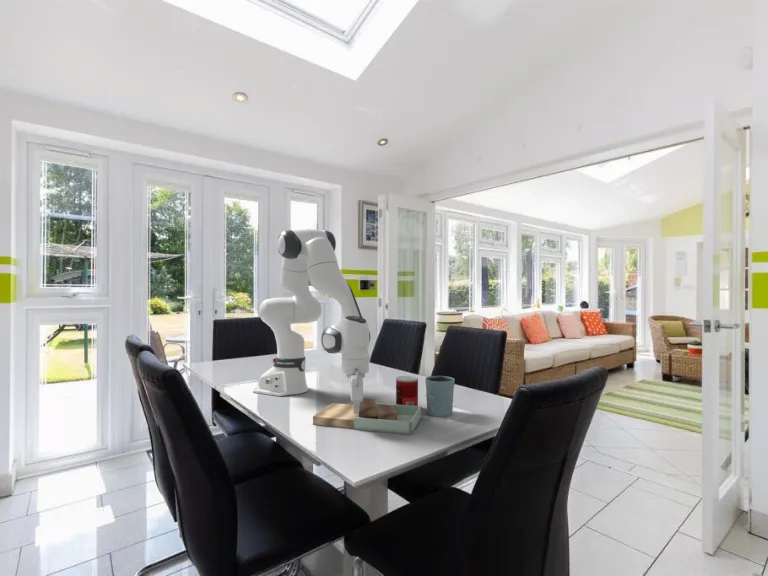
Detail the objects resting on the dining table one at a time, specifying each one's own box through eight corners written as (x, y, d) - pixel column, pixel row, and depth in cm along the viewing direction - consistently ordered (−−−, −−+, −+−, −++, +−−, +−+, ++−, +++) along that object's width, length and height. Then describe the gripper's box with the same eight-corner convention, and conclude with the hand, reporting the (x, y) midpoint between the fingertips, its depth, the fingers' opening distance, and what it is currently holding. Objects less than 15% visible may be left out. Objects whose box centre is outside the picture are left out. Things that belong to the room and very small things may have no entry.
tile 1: (358, 416, 132) (359, 407, 132) (356, 407, 142) (357, 398, 142) (377, 416, 133) (377, 407, 133) (374, 407, 143) (374, 398, 143)
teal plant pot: (426, 417, 140) (426, 381, 140) (423, 408, 150) (423, 375, 150) (456, 417, 140) (456, 381, 140) (452, 408, 150) (452, 375, 150)
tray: (354, 429, 128) (354, 417, 128) (370, 412, 145) (370, 402, 145) (411, 434, 124) (411, 422, 124) (421, 416, 141) (421, 406, 141)
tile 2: (378, 423, 132) (378, 414, 132) (374, 414, 142) (375, 405, 142) (397, 422, 132) (397, 413, 132) (392, 413, 142) (392, 404, 142)
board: (313, 424, 133) (313, 416, 133) (332, 410, 148) (332, 403, 148) (355, 428, 129) (355, 420, 129) (370, 413, 144) (370, 406, 144)
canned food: (421, 407, 151) (421, 377, 151) (410, 413, 145) (410, 381, 145) (403, 404, 156) (403, 374, 156) (391, 409, 149) (391, 378, 149)
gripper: (368, 372, 127) (367, 418, 127) (362, 360, 147) (362, 400, 147) (347, 372, 126) (346, 418, 126) (344, 361, 147) (344, 400, 147)
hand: (355, 408), depth 137 cm, fingers open, 8 cm apart
